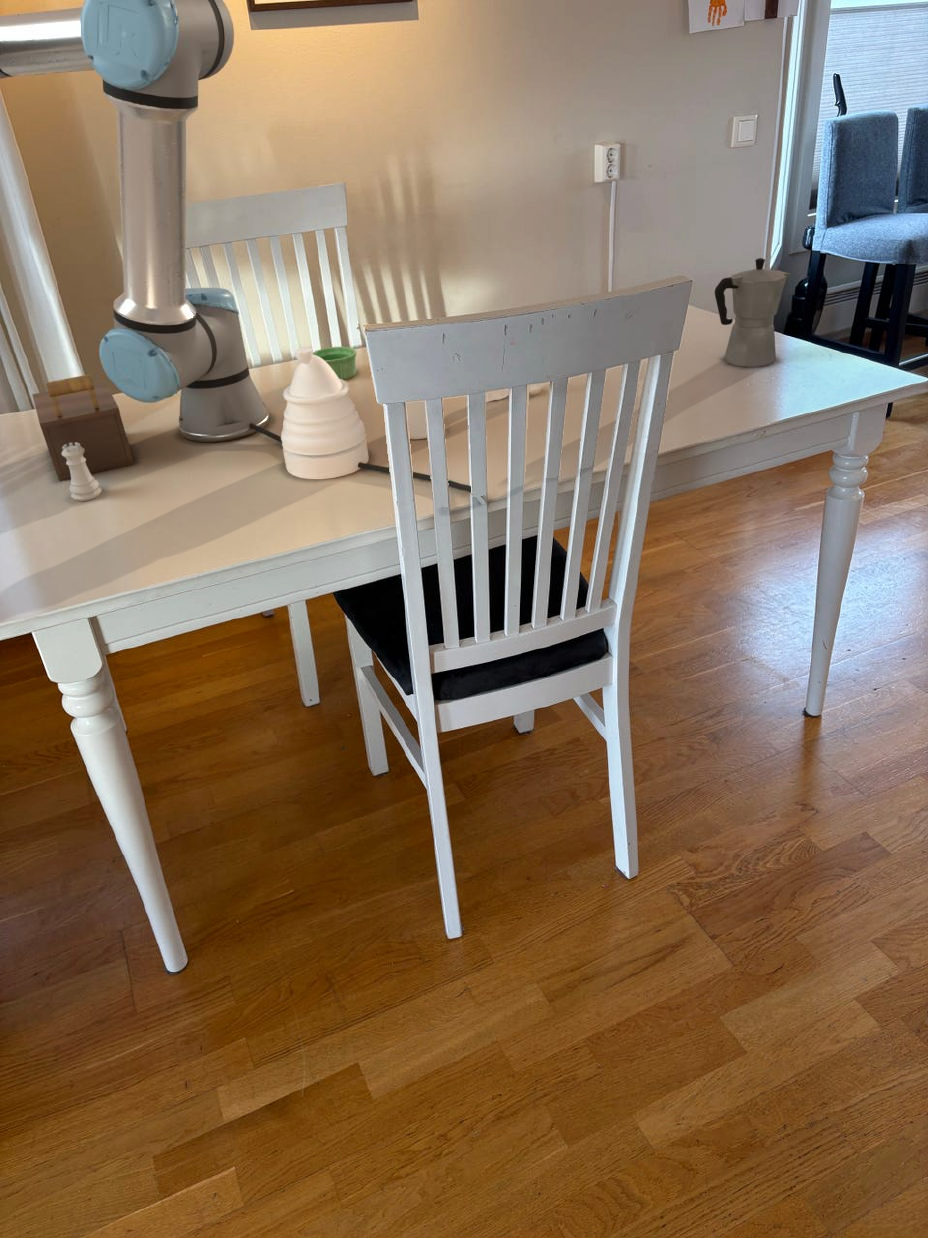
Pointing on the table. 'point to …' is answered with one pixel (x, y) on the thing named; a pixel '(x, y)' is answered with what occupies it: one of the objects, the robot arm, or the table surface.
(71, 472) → the rook chess piece
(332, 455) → the honey pot
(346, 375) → the ramekin
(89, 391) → the box lid
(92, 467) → the box
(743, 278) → the coffeepot
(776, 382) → the table surface
